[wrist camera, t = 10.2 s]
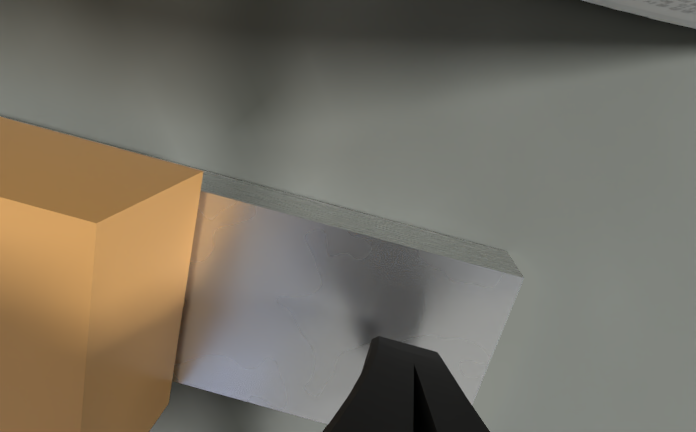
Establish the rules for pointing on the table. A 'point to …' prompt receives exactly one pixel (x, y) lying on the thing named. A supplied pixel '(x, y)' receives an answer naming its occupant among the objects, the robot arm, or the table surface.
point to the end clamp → (89, 281)
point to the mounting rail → (326, 297)
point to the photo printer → (656, 9)
